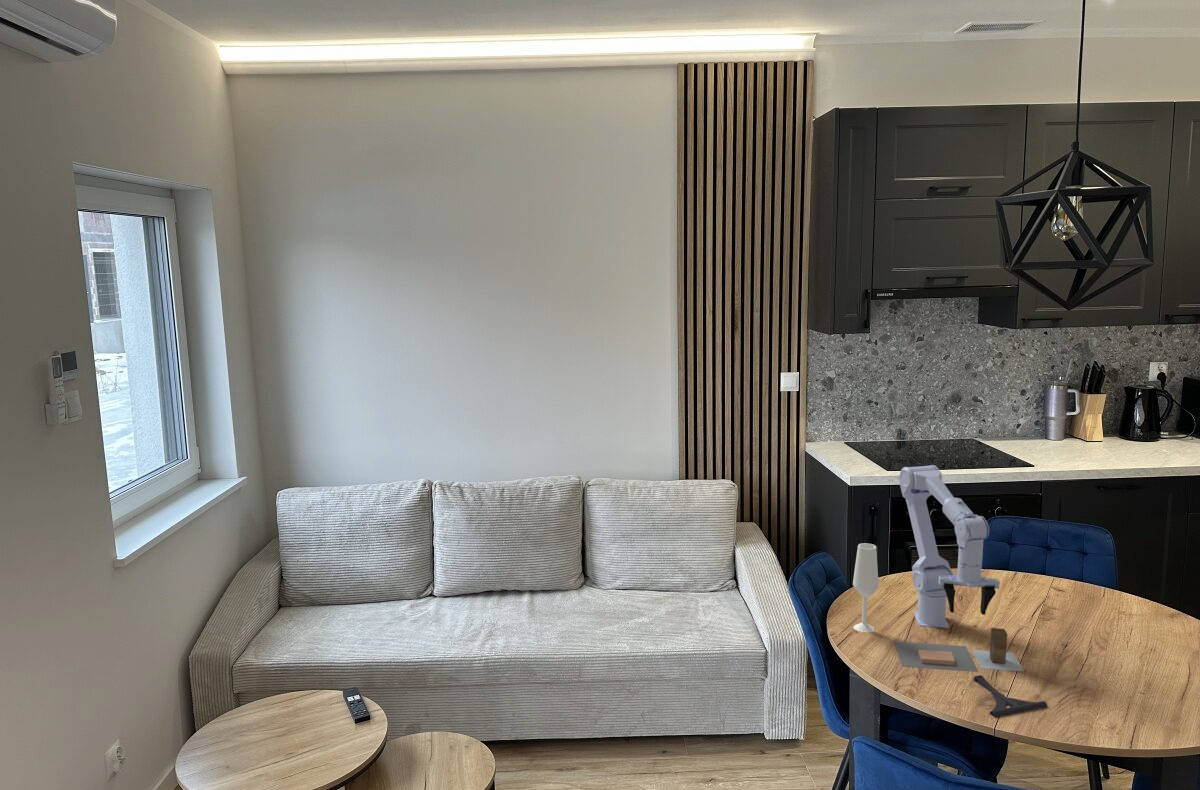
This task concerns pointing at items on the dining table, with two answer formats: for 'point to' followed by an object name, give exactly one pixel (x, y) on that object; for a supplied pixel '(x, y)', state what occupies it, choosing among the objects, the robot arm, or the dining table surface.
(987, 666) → the rest pad
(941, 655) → the tile
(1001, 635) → the walnut stick
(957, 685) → the dining table surface
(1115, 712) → the dining table surface
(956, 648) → the slate mat
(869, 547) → the champagne flute
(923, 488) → the robot arm
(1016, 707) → the bracket
